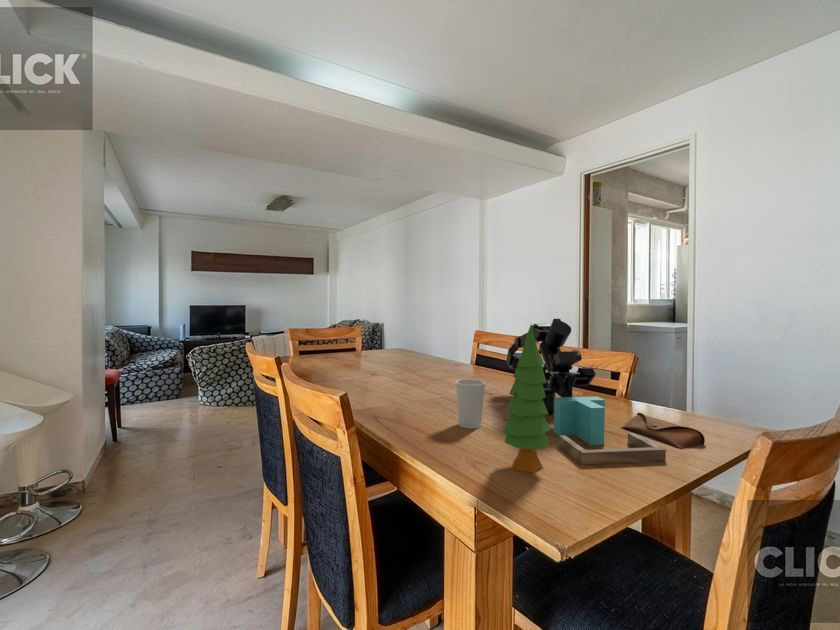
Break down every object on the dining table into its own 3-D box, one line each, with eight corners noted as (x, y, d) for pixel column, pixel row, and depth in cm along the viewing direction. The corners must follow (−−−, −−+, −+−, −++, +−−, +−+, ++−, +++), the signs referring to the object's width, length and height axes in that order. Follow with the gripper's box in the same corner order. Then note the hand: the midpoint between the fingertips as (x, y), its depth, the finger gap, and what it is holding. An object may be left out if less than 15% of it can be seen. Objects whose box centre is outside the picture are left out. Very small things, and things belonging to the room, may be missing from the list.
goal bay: (558, 445, 94) (558, 435, 94) (633, 443, 96) (633, 432, 96) (582, 464, 83) (582, 452, 83) (665, 460, 85) (665, 449, 85)
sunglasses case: (616, 427, 108) (625, 404, 109) (631, 436, 111) (640, 415, 112) (683, 449, 92) (693, 423, 93) (699, 461, 94) (708, 435, 95)
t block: (553, 431, 104) (554, 397, 104) (596, 429, 106) (597, 396, 105) (573, 445, 94) (574, 408, 94) (620, 444, 95) (621, 407, 95)
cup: (451, 426, 108) (451, 383, 108) (462, 418, 115) (462, 378, 115) (479, 431, 104) (479, 386, 104) (488, 423, 111) (488, 380, 111)
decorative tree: (533, 479, 76) (535, 324, 75) (492, 465, 82) (493, 322, 81) (555, 464, 83) (557, 322, 82) (515, 452, 90) (517, 321, 88)
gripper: (530, 340, 112) (546, 387, 101) (593, 339, 114) (615, 385, 103) (520, 363, 120) (534, 409, 109) (578, 362, 122) (597, 407, 111)
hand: (570, 402), depth 108 cm, fingers closed
